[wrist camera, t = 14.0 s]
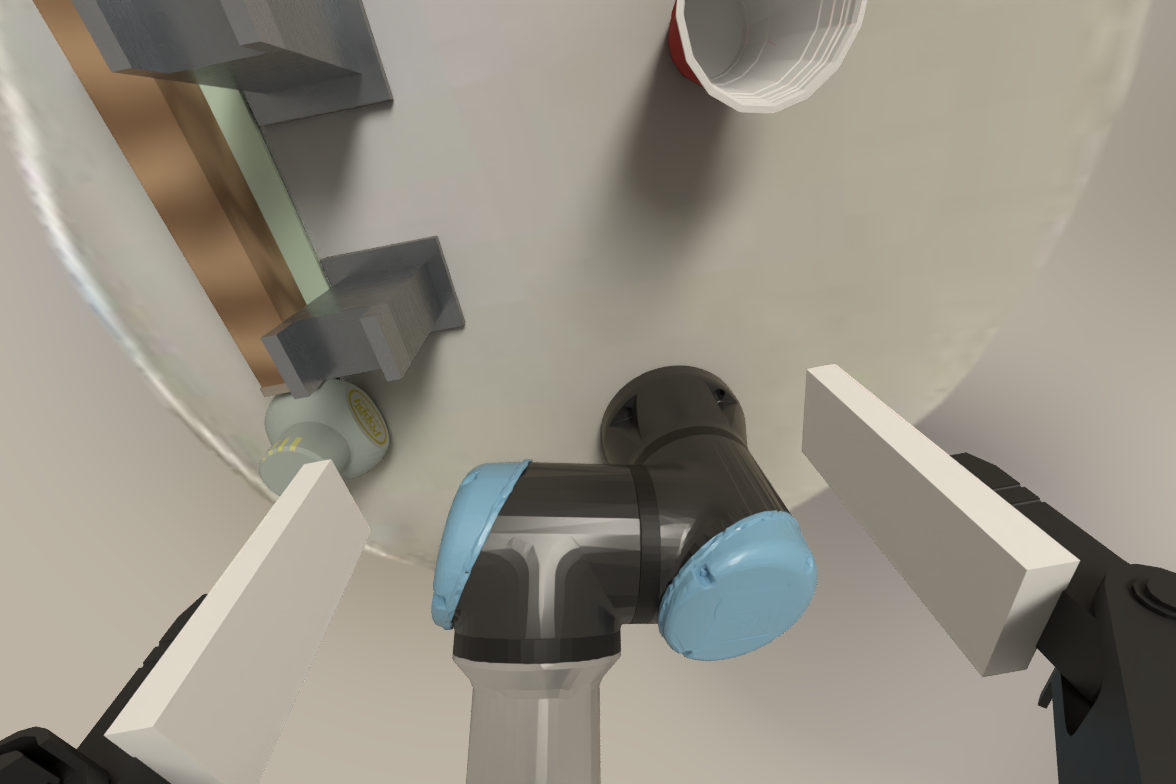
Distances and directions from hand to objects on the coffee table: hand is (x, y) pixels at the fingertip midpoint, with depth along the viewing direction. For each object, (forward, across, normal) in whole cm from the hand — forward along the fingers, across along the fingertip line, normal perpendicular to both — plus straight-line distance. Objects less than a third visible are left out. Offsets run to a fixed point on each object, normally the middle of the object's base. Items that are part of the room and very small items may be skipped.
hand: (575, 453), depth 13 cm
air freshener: (+32, +25, +13) cm, 43 cm away
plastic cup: (+32, -14, -12) cm, 37 cm away
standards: (+32, +15, -7) cm, 36 cm away
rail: (+31, +25, -7) cm, 41 cm away
